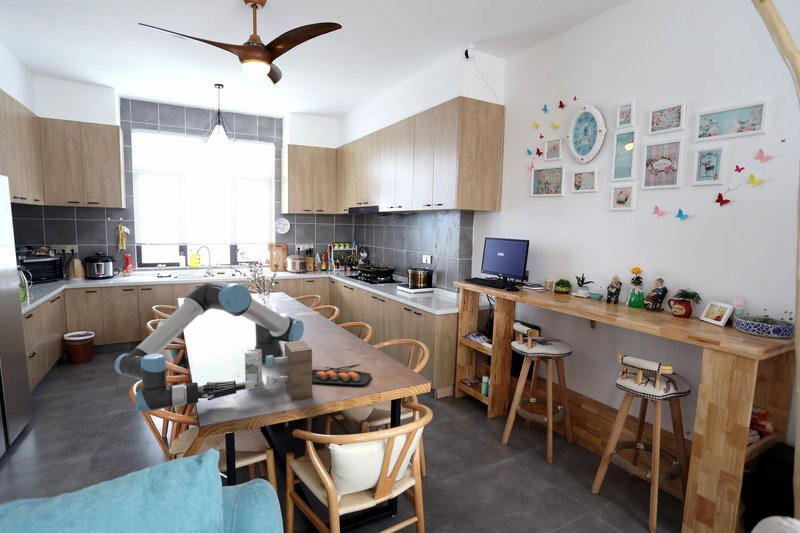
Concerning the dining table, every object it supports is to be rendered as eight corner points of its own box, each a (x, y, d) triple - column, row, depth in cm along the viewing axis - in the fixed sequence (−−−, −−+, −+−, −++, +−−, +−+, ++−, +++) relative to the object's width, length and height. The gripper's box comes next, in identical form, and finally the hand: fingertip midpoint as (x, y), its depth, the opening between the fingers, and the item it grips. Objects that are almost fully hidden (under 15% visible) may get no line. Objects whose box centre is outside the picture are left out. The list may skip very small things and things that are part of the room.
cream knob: (266, 384, 167) (266, 373, 166) (292, 381, 171) (291, 370, 171) (268, 389, 163) (268, 377, 162) (294, 384, 167) (294, 373, 167)
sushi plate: (300, 384, 181) (300, 376, 181) (322, 362, 211) (322, 355, 210) (365, 389, 177) (365, 380, 177) (378, 365, 207) (378, 358, 207)
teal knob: (266, 365, 166) (265, 354, 165) (291, 362, 170) (291, 351, 170) (267, 369, 162) (267, 357, 161) (294, 365, 166) (294, 354, 166)
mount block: (285, 388, 175) (284, 342, 173) (304, 385, 178) (303, 340, 176) (292, 401, 162) (291, 351, 160) (312, 398, 166) (311, 349, 164)
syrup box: (262, 380, 184) (262, 348, 182) (258, 385, 178) (257, 352, 177) (249, 380, 184) (248, 348, 182) (245, 385, 178) (244, 352, 176)
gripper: (186, 397, 158) (252, 387, 168) (186, 411, 146) (256, 399, 156) (186, 378, 157) (251, 369, 167) (185, 390, 145) (256, 380, 156)
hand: (254, 384), depth 162 cm, fingers closed
